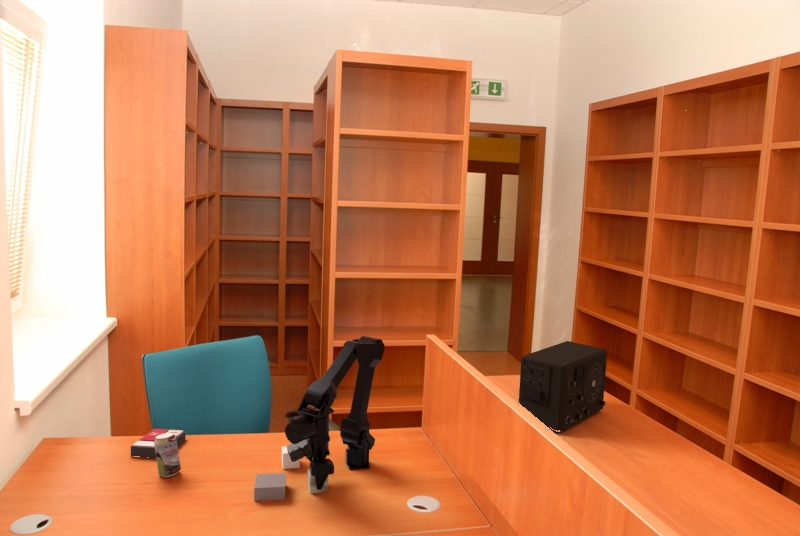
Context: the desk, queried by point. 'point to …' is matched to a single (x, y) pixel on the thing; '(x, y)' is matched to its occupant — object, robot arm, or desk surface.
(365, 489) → the desk surface
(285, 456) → the off-white block
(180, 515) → the desk surface
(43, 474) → the desk surface
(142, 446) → the red and white box
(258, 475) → the grey base block
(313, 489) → the cube block
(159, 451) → the beverage can
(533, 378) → the vintage radio
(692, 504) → the desk surface
